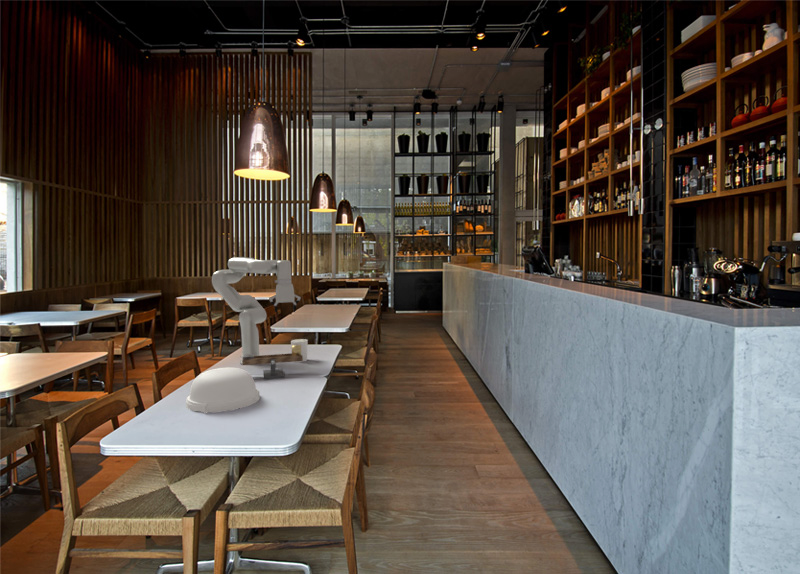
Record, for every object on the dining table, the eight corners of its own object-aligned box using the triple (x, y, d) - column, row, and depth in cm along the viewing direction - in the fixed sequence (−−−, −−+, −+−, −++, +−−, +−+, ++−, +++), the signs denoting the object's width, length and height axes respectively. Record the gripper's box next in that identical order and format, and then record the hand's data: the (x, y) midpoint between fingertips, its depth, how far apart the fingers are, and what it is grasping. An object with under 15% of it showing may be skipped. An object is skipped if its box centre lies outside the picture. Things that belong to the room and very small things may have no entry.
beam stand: (263, 379, 245) (262, 361, 244) (263, 372, 260) (262, 355, 259) (283, 377, 248) (283, 359, 247) (282, 370, 262) (281, 354, 262)
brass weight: (295, 358, 253) (295, 346, 253) (289, 356, 256) (289, 345, 256) (303, 356, 257) (303, 345, 257) (297, 355, 260) (297, 344, 260)
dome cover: (239, 414, 192) (238, 380, 191) (169, 413, 196) (167, 379, 195) (271, 391, 224) (270, 361, 223) (210, 390, 228) (209, 361, 227)
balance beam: (242, 365, 245) (242, 357, 245) (243, 362, 253) (242, 354, 253) (302, 360, 253) (302, 353, 253) (301, 357, 261) (301, 350, 261)
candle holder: (306, 362, 282) (305, 342, 281) (289, 362, 282) (288, 342, 281) (309, 358, 292) (309, 339, 291) (293, 358, 292) (293, 339, 291)
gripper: (268, 283, 266) (269, 314, 267) (300, 282, 271) (301, 312, 272) (268, 282, 273) (269, 312, 274) (299, 281, 278) (300, 310, 279)
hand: (285, 312), depth 273 cm, fingers open, 9 cm apart
